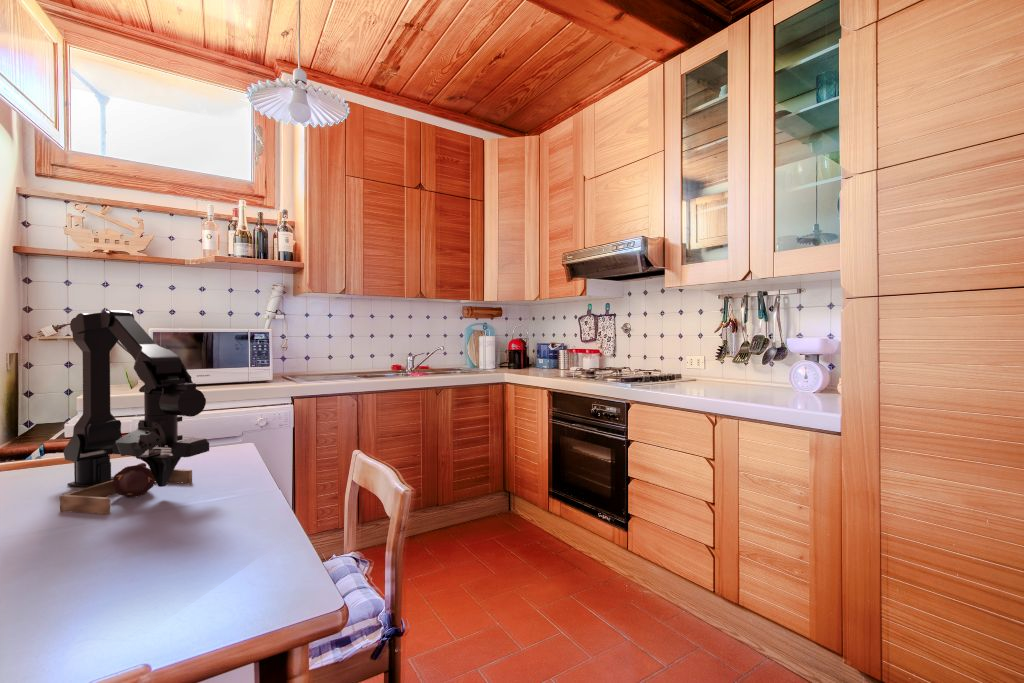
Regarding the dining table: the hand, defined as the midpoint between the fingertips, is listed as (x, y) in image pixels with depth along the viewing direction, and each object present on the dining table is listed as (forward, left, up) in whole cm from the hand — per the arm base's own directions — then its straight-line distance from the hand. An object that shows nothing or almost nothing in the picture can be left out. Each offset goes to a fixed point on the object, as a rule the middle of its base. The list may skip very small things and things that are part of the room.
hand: (162, 486), depth 103 cm
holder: (-7, 0, -3) cm, 8 cm away
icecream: (-7, 0, -3) cm, 8 cm away
